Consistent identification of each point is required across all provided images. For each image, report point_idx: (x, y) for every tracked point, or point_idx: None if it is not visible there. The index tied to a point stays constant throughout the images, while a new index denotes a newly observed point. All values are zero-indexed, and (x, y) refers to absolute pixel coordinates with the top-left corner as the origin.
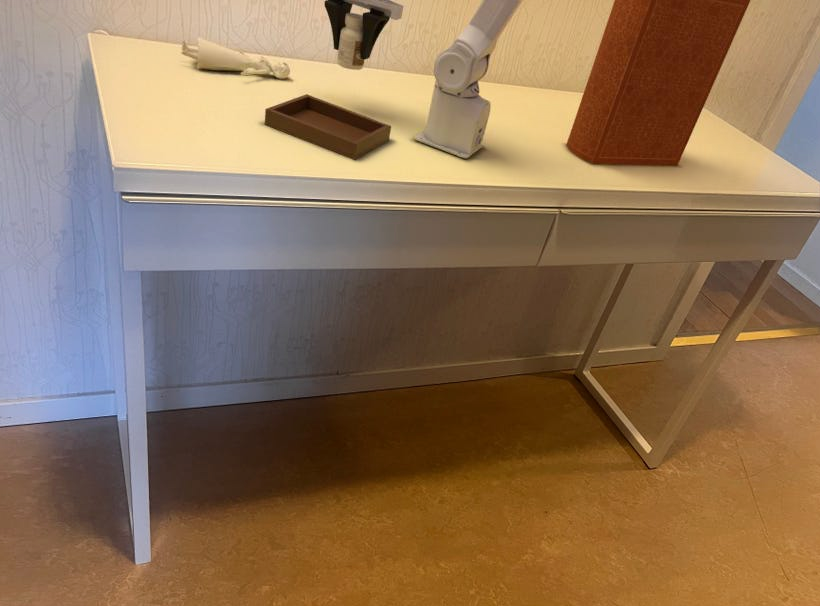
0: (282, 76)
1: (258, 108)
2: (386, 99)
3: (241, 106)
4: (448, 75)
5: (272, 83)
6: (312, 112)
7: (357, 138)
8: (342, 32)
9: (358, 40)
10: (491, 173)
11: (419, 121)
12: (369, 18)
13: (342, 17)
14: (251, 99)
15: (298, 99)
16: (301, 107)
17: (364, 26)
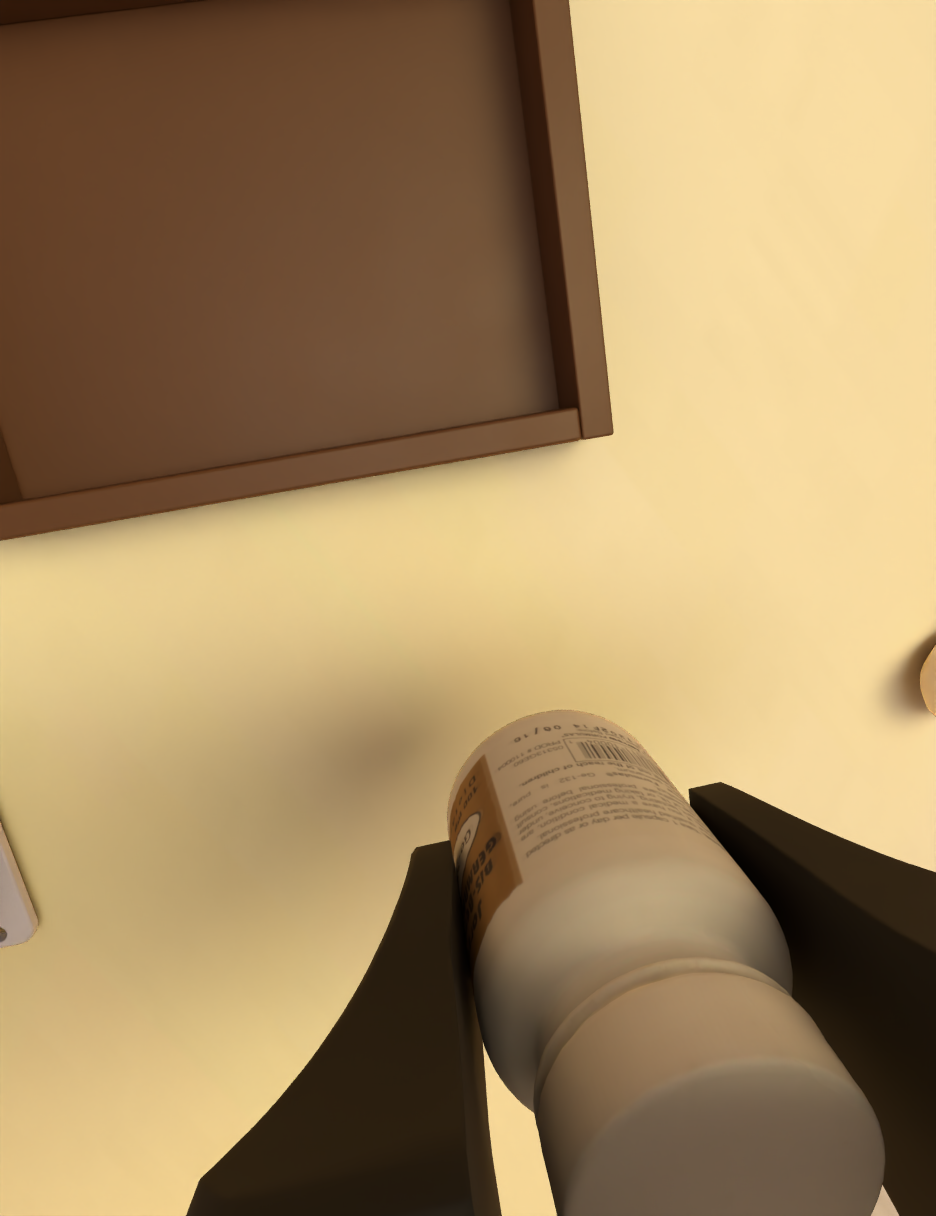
0: (932, 655)
1: (722, 140)
2: None
3: (793, 56)
4: None
5: (918, 558)
6: (502, 390)
7: (74, 317)
8: (714, 868)
9: (501, 913)
10: None
11: (167, 943)
12: (303, 1188)
13: (891, 1059)
14: (832, 223)
15: (570, 283)
16: (554, 333)
17: (435, 1052)
